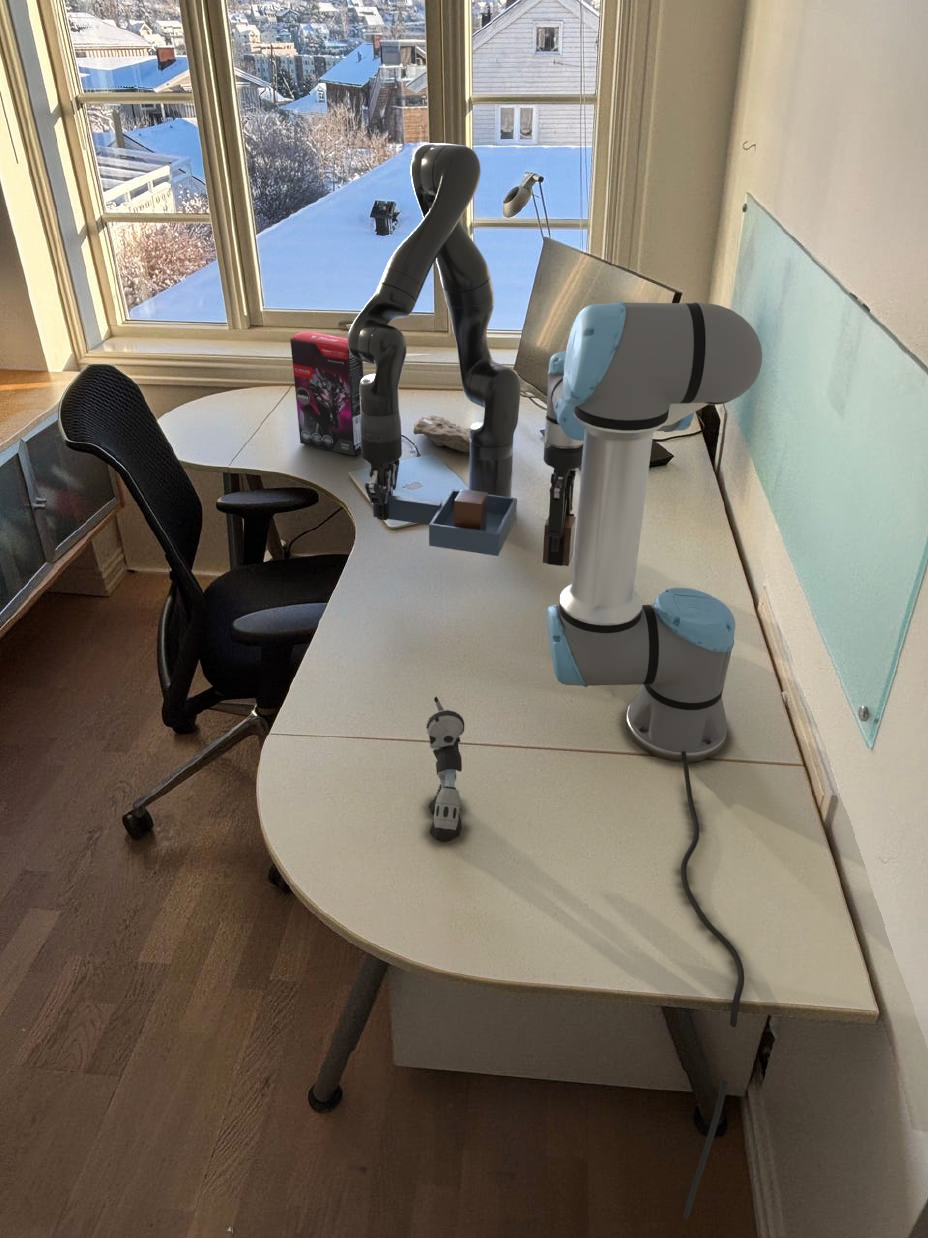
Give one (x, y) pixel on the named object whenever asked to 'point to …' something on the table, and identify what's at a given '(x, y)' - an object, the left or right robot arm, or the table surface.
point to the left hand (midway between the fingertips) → (384, 516)
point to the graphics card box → (327, 392)
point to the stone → (444, 432)
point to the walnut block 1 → (470, 510)
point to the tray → (442, 522)
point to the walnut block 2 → (568, 540)
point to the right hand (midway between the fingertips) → (557, 556)
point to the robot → (446, 772)
